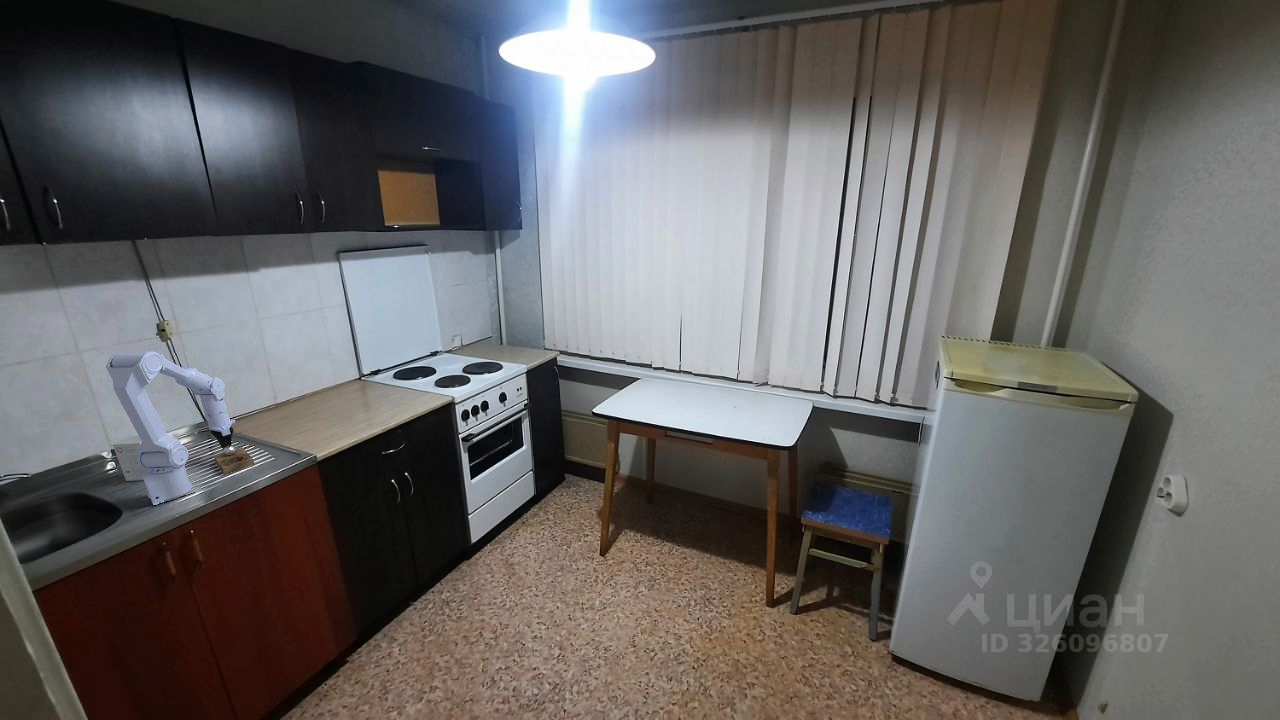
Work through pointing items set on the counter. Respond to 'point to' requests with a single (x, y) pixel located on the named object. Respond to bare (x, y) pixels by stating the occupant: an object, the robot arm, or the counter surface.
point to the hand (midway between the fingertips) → (227, 448)
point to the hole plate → (233, 461)
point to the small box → (129, 458)
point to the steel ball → (229, 450)
